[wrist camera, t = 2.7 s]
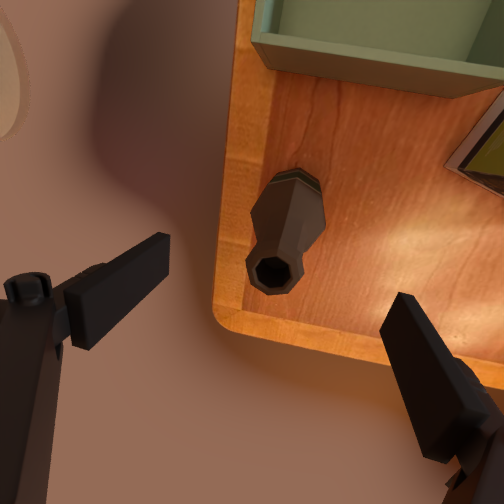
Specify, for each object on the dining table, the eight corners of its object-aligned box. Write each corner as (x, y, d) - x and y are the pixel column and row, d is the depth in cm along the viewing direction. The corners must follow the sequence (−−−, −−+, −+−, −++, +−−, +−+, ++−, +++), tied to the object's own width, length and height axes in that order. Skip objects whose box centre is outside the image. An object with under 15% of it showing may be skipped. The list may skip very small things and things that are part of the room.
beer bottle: (262, 215, 39) (205, 309, 18) (272, 161, 36) (216, 197, 14) (314, 226, 38) (320, 339, 17) (329, 171, 35) (359, 227, 13)
